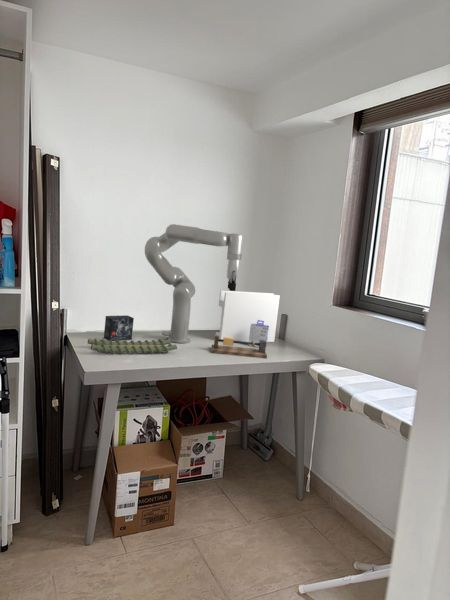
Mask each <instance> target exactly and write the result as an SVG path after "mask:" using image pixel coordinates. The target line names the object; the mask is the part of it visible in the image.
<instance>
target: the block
mask: <svg viewBox="0 0 450 600" xmlns="http://www.w3.org/2000/svg"><path fill="white" fill-rule="evenodd" d="M280 298H281V295H280V294H275V293H272V292H271V293H270V292H257V291H238V290H235V291H230V290H221V289H220V292H219V299H218V306H219V307H220V308H221V314H220V315H221V316H220V325H219V326H220V327H219V332H218V331H216V332H215V335H214V337H215V336H219V339H223V337H233V341H243V342H249V336H250V327H251V324H257V321H258V320H261V321H264V325H268V326H269V330H268V338H267V343H269V342H271V343H274V342H275V340H276V331H277V322H278V315H279V314H278V313H279V308H280V307H279V306H280ZM258 323H263V322H258Z"/></svg>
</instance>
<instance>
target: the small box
mask: <svg viewBox="0 0 450 600" xmlns="http://www.w3.org/2000/svg"><path fill="white" fill-rule="evenodd" d="M134 319H135V318H134V317H132V316H130V315H127V314H126V315H125V314H124V315H105V321H104V330H103V331H104V332H103V338H102V339H104V340H105V341H109V340H111V341H112V342H115V341H117V340H119V341H120V342H122V341H132V339H133V329H134Z"/></svg>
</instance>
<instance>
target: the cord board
mask: <svg viewBox="0 0 450 600" xmlns="http://www.w3.org/2000/svg"><path fill="white" fill-rule="evenodd" d="M219 342H220V343H223V339H219V336H215V335H214V342H213V344H211V354H219V355H229V356H237V357H239V356H240V357H250V358H260V359H267V357H268V355H267V352H266V348H267V346H266V340H260V342H259V343H254V341H252V342H243V341H233V344H241V345H248V344H250V345H252V346H251V347H242V346H240V347H239V346H229V345H223V344H221V345H220V344H219ZM254 345H259V347H258V348H252V347H254Z"/></svg>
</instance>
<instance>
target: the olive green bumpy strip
mask: <svg viewBox="0 0 450 600" xmlns="http://www.w3.org/2000/svg"><path fill="white" fill-rule="evenodd" d="M87 345H91V346H90V350H92V351H97V353H99V352H102V353H103V352H104V353H105V354H108V353H112V354H114V355H116V353H118V354H119V353H120V354H121V355H124V353H125V354H129V355H132V354H136V355H139V354H144V355H147V354H148V353H151V354H152V355H153V354H155V353H157V352H159V354H161V353H162V352H166V353H169V351H173V350H177V349H178V346H177V344H176V343H175V344H172V343H171V341H170V339H168V340H167V339H165V340H163V339H161V338H159V339H157V340H155V339H152V340H151V341H150V340H148V339H145V340H144V341H141V340H137V341H134V340H129V341H128V340H122V341H119V340H117V341H111V340H109V341H108V340H106V339H104V338H102V339H99V340H98V339H97V338H88V340H87Z"/></svg>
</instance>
